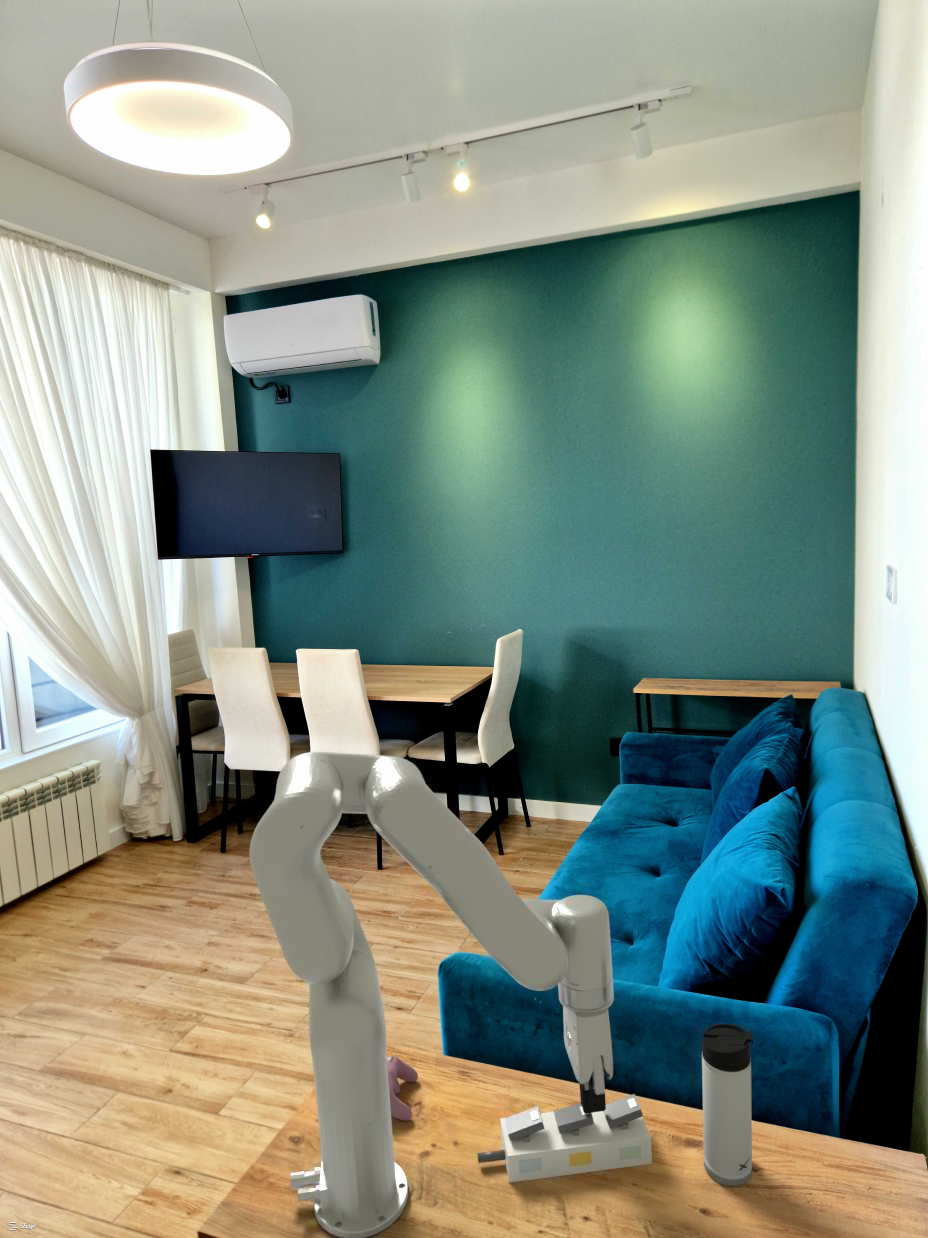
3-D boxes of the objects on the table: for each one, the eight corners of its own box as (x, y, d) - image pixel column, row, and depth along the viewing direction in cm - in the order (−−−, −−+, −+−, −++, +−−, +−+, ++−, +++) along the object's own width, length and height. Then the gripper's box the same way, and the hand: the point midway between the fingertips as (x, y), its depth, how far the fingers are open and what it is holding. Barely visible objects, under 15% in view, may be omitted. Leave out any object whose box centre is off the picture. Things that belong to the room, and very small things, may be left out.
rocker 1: (510, 1142, 112) (507, 1134, 112) (507, 1126, 115) (504, 1118, 115) (544, 1129, 112) (541, 1121, 112) (540, 1113, 115) (537, 1105, 115)
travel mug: (758, 1190, 107) (756, 1051, 104) (706, 1185, 108) (703, 1047, 106) (751, 1153, 113) (749, 1021, 111) (702, 1148, 115) (699, 1017, 112)
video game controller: (396, 1087, 133) (375, 1052, 132) (421, 1075, 132) (399, 1040, 131) (388, 1133, 123) (364, 1096, 122) (414, 1121, 122) (390, 1083, 122)
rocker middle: (559, 1134, 113) (557, 1126, 112) (555, 1118, 116) (553, 1110, 115) (594, 1124, 113) (592, 1116, 113) (588, 1109, 116) (587, 1101, 116)
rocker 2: (609, 1129, 113) (607, 1121, 113) (603, 1113, 116) (601, 1106, 116) (643, 1116, 114) (640, 1108, 113) (636, 1101, 117) (634, 1093, 116)
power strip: (481, 1187, 110) (479, 1156, 109) (475, 1147, 117) (473, 1117, 117) (652, 1164, 112) (651, 1133, 112) (636, 1126, 119) (635, 1097, 119)
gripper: (547, 961, 119) (556, 1076, 121) (571, 1025, 104) (580, 1153, 107) (598, 955, 120) (605, 1068, 122) (628, 1017, 105) (635, 1145, 107)
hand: (593, 1108), depth 114 cm, fingers closed
